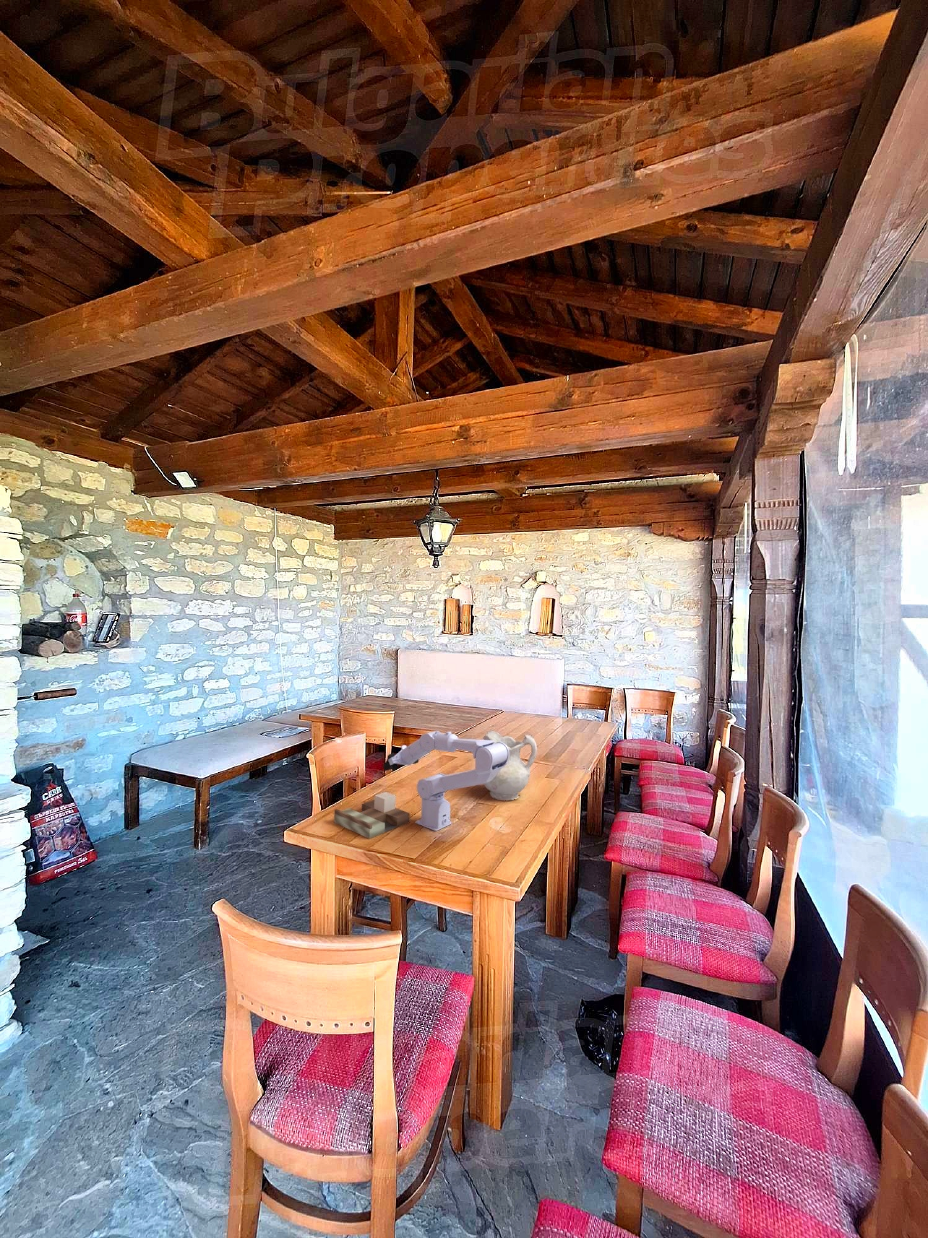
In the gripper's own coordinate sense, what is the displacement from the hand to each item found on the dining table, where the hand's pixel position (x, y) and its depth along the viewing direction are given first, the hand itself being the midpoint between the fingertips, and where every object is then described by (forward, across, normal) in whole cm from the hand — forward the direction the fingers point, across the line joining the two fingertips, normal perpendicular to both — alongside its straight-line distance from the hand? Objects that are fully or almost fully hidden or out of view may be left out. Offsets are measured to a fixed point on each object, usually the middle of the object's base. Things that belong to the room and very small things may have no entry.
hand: (392, 765), depth 175 cm
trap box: (+4, +13, +15) cm, 21 cm away
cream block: (+2, +8, +13) cm, 15 cm away
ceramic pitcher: (-12, -39, +26) cm, 48 cm away
